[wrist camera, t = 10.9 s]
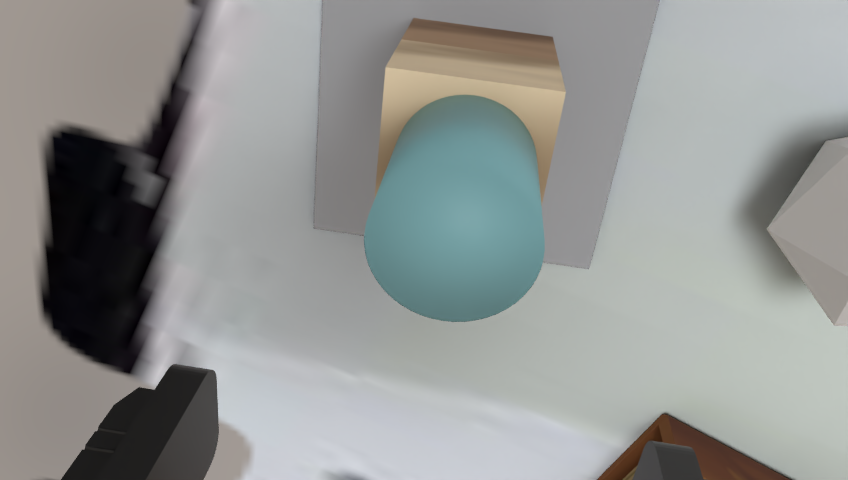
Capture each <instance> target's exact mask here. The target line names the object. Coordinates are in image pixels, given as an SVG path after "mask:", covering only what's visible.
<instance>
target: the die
mask: <svg viewBox="0 0 848 480" xmlns="http://www.w3.org/2000/svg"><path fill="white" fill-rule="evenodd" d="M767 231H768V232H769V233H770V235H771V236H772V238H773V239H774V241H775V242H776V243H777V245H778V246H779V248H780V249H781V251H782V252H783V253H784V255H785V256H786V258H787V259H788V260H789V262H790V263H791V265H792V266H793V268H794V269H795V270H796V272H797V273H798V275H799V276H800V278H801V279H802V280H803V282H804V283H805V285H806V286H807V288H808V289H809V290H810V292H811V293H812V295H813V296H814V298H815V299H816V300H817V302H818V303H819V305H820V306H821V308H822V309H823V310H824V312H825V313H826V315H827V316H828V318H829V319H830V320H831V322H832V323H833V325H836V326H848V137H844V138H838V139H833V140H827V141H825V143H824V144H823V146H822V147H821V149H820V150H819V152H818V153H817V155H816V156H815V158H814V159H813V161H812V162H811V164H810V165H809V167H808V168H807V170H806V171H805V173H804V174H803V176H802V177H801V179H800V180H799V181H798V183H797V184H796V186H795V187H794V189H793V190H792V192H791V193H790V195H789V196H788V198H787V199H786V201H785V202H784V204H783V205H782V207H781V208H780V210H779V211H778V213H777V214H776V216H775V217H774V219H773V220H772V222H771V223H770V225H769V226H768V228H767Z"/></svg>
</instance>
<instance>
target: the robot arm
mask: <svg viewBox="0 0 848 480" xmlns="http://www.w3.org/2000/svg"><path fill="white" fill-rule="evenodd" d="M218 433H219V427H218V402H217V379H216V373H215V371H214V370H209V369H203V368H196V367H190V366H184V365H177V364H174V365H172V366H171V367H170V368H169V369H168V370H167V372H166V373H165V375H164V376H163V378H162V379H161V381H160V382H159V384H158V386H157V387H156V389H155V390H152V389H146V388H140V387H139V388H137V389H136V390H134V391H133V392H132V393H130V394H129V395H128V396H126V397H125V398H123V399H122V400H120V401H119V402H118V403H116V404H115V405H114V406H113V407H112V409H111V410H110V411H109V413H108V414H107V416H106V417H105V418H104V420H103V421H102V423H101V424H100V425H99V427H98V431H97V432H94V434H93V435H92V437H91V438H90V439H89V441H88V442H87V444H86V446H85V450H82V451H81V452H80V454H79V455H78V456H77V458H76V459H75V461H74V462H73V463H72V465H71V466H70V468H69V469H68V470H67V472H66V473H65V475H64V476H63V477H62V479H61V480H203V479H204V477H205V475H206V473H207V471H208V469H209V467H210V465H211V463H212V460H213V457H214V454H215V450H216V446H217V441H218ZM632 480H707V479H703V476H702V473H701V470H700V466H699V463H698V460H697V457H696V454H695V452H694V450H693V449H692V448H691V447H688V446H681V445H675V444H669V443H662V442H656V441H648V442H647V443H646V445H645V447H644V449H643V452H642V455H641V457H640V460H639V463H638V466H637V468H636V471H635V474H634V477H633V479H632Z"/></svg>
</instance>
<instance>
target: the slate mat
mask: <svg viewBox="0 0 848 480" xmlns="http://www.w3.org/2000/svg"><path fill="white" fill-rule="evenodd" d="M659 2H660V0H323V3H322V28H321V53H320V79H319V104H318V130H317V155H316V180H315V206H314V228H315V229H321V230H328V231H335V232H342V233H348V234H355V235H362V236H364V233H365V226H366V222H367V219H368V215H369V213H370V210H371V207H372V205H373V202H374V199H375V187H376V175H377V163H378V151H379V139H380V127H381V115H382V103H383V92H384V80H385V68H386V65H387V64H388V62H389V60H390V58H391V57H392V55H393V53H394V51H395V50H396V48H397V46H398V44H399V43H400V41H401V39H402V37H403V36H404V34H405V32H406V30H407V29H408V27H409V25H410V23H411V22H412V20H413V18H419V19H426V20H433V21H441V22H448V23H455V24H463V25H470V26H477V27H485V28H492V29H500V30H507V31H514V32H522V33H529V34H536V35H544V36H551V37H553V40H554V44H555V48H556V53H557V57H558V61H559V65H560V69H561V73H562V77H563V82H564V86H565V90H566V94H565V99H564V104H563V108H562V113H561V118H560V123H559V127H558V132H557V137H556V141H555V146H554V151H553V155H552V160H551V165H550V170H549V174H548V179H547V184H546V188H545V193H544V198H543V202H542V217H543V228H544V238H545V252H544V259H543V262H544V263H550V264H557V265H564V266H571V267H577V268H584V269H589V267H590V264H591V260H592V256H593V252H594V248H595V245H596V241H597V237H598V233H599V229H600V226H601V222H602V218H603V214H604V210H605V207H606V203H607V199H608V195H609V191H610V188H611V184H612V180H613V176H614V172H615V169H616V165H617V161H618V157H619V153H620V150H621V146H622V142H623V138H624V134H625V131H626V127H627V123H628V119H629V116H630V112H631V108H632V104H633V100H634V97H635V93H636V89H637V85H638V81H639V78H640V74H641V70H642V66H643V62H644V59H645V55H646V51H647V47H648V43H649V40H650V36H651V32H652V28H653V24H654V21H655V17H656V13H657V9H658V5H659Z"/></svg>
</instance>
